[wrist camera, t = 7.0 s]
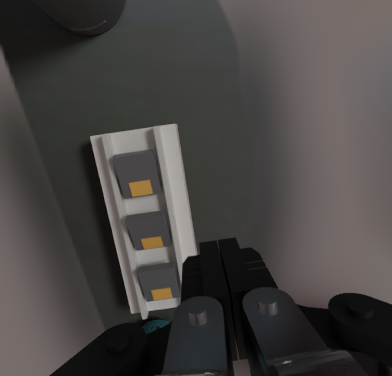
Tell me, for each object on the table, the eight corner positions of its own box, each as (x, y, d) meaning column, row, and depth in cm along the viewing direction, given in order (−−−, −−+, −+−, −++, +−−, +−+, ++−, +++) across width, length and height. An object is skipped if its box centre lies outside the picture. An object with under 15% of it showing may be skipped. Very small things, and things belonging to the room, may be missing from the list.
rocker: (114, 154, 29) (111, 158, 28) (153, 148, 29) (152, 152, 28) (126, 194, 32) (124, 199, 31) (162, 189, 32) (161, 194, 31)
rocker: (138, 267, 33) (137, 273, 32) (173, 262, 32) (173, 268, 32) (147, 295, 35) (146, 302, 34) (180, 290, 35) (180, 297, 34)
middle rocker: (126, 215, 31) (124, 222, 30) (163, 210, 30) (163, 216, 30) (137, 244, 34) (136, 251, 33) (171, 239, 34) (171, 246, 33)
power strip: (99, 135, 34) (84, 137, 29) (176, 123, 34) (174, 123, 29) (136, 297, 39) (128, 321, 34) (202, 287, 39) (204, 310, 34)
